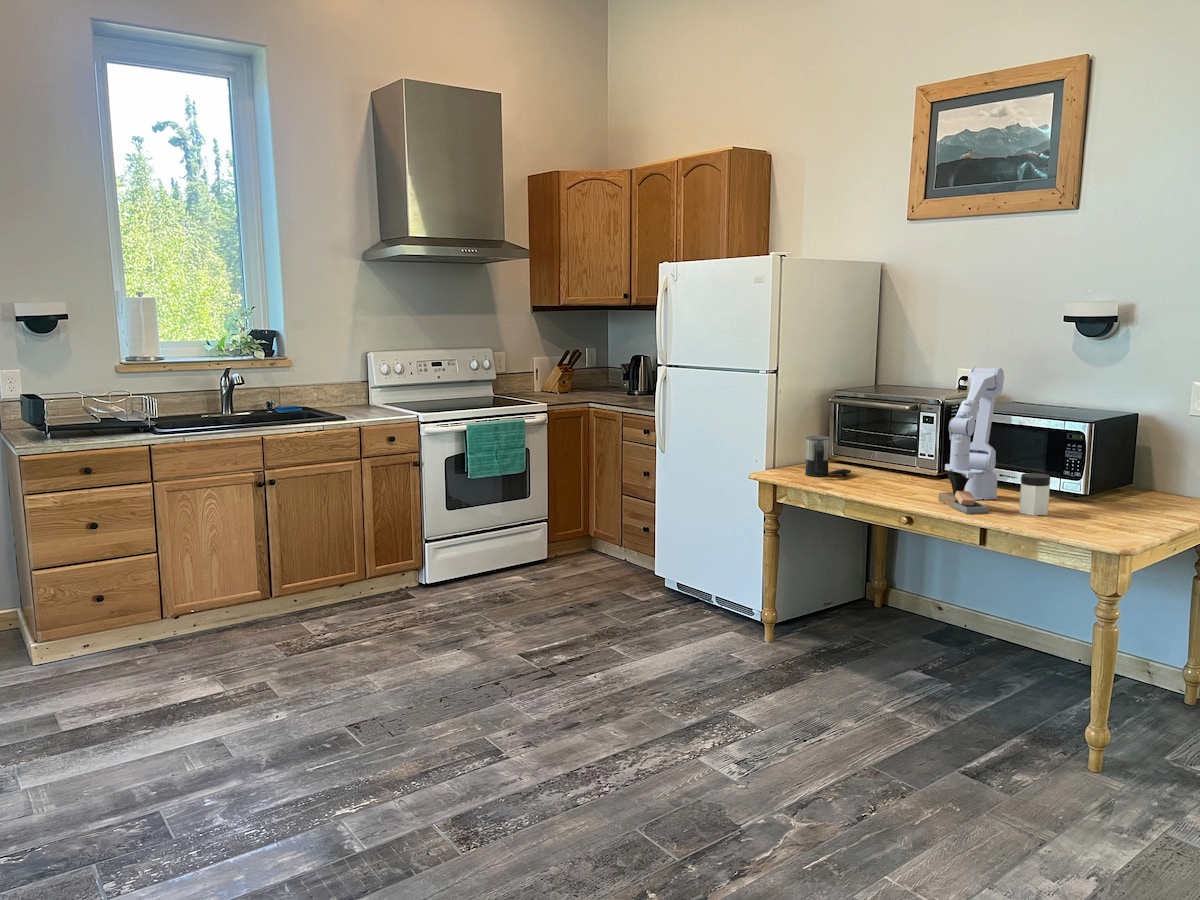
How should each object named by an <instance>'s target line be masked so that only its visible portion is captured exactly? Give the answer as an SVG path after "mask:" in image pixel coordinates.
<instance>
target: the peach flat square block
mask: <svg viewBox="0 0 1200 900" xmlns="http://www.w3.org/2000/svg"><path fill="white" fill-rule="evenodd" d="M955 497H956V499H957V500H958V502H959V503H960V505H974V503H975V502H977V500H975V498H974V497H973V495H972V494H971V492H970V491H965V490H964V491H957V492H956V494H955Z"/></svg>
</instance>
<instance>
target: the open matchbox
mask: <svg viewBox="0 0 1200 900" xmlns="http://www.w3.org/2000/svg"><path fill="white" fill-rule="evenodd" d="M939 501H940V502H939ZM938 502H939V503H941V502H943V503H945V504H947V505H949V506H948V507H950V506H951V507H950V508H952V507H953V508H952V509H954V506H955V503H958V500H957V499H956V497H955V496H954V494H953V491H950V492H948V491H946V492H944V491H943V492H938ZM943 503H942V504H943ZM945 504H944V505H945ZM947 505H946V506H947Z"/></svg>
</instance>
